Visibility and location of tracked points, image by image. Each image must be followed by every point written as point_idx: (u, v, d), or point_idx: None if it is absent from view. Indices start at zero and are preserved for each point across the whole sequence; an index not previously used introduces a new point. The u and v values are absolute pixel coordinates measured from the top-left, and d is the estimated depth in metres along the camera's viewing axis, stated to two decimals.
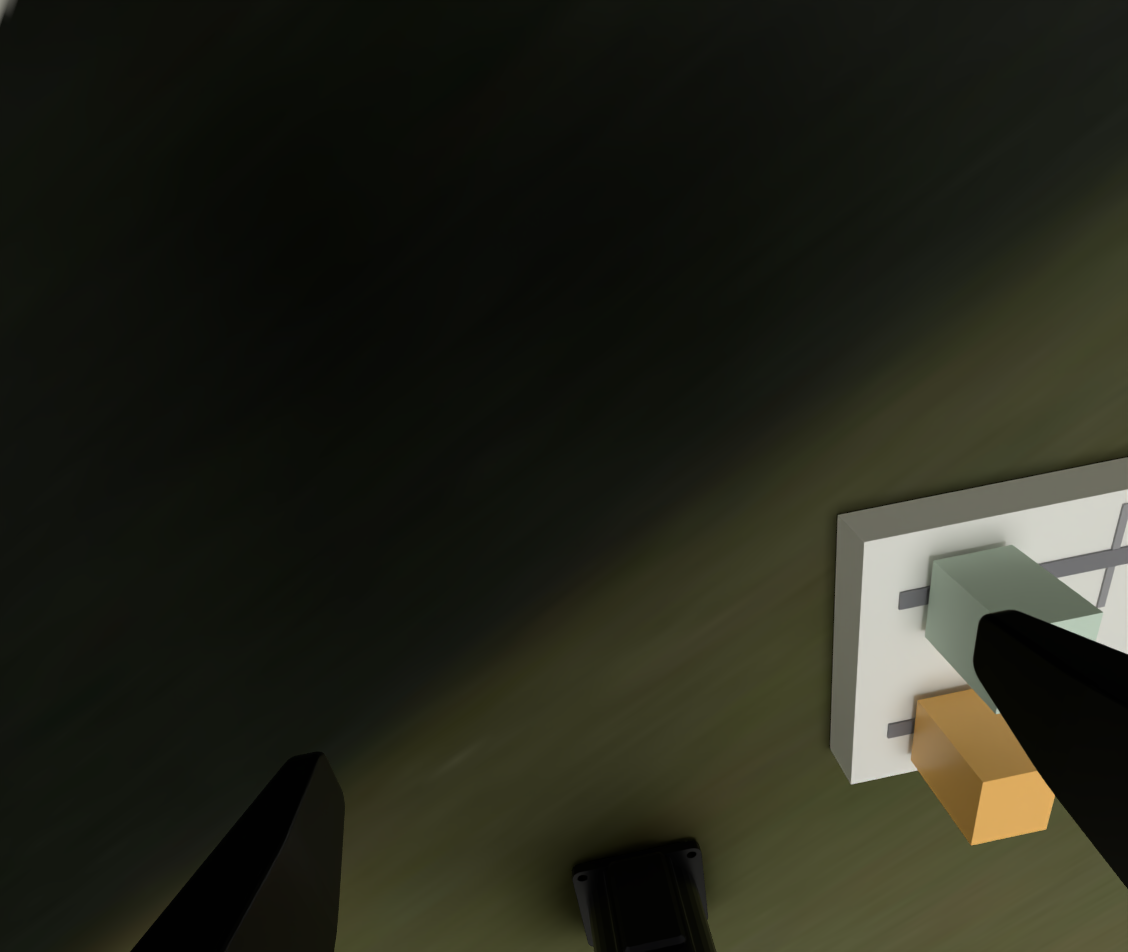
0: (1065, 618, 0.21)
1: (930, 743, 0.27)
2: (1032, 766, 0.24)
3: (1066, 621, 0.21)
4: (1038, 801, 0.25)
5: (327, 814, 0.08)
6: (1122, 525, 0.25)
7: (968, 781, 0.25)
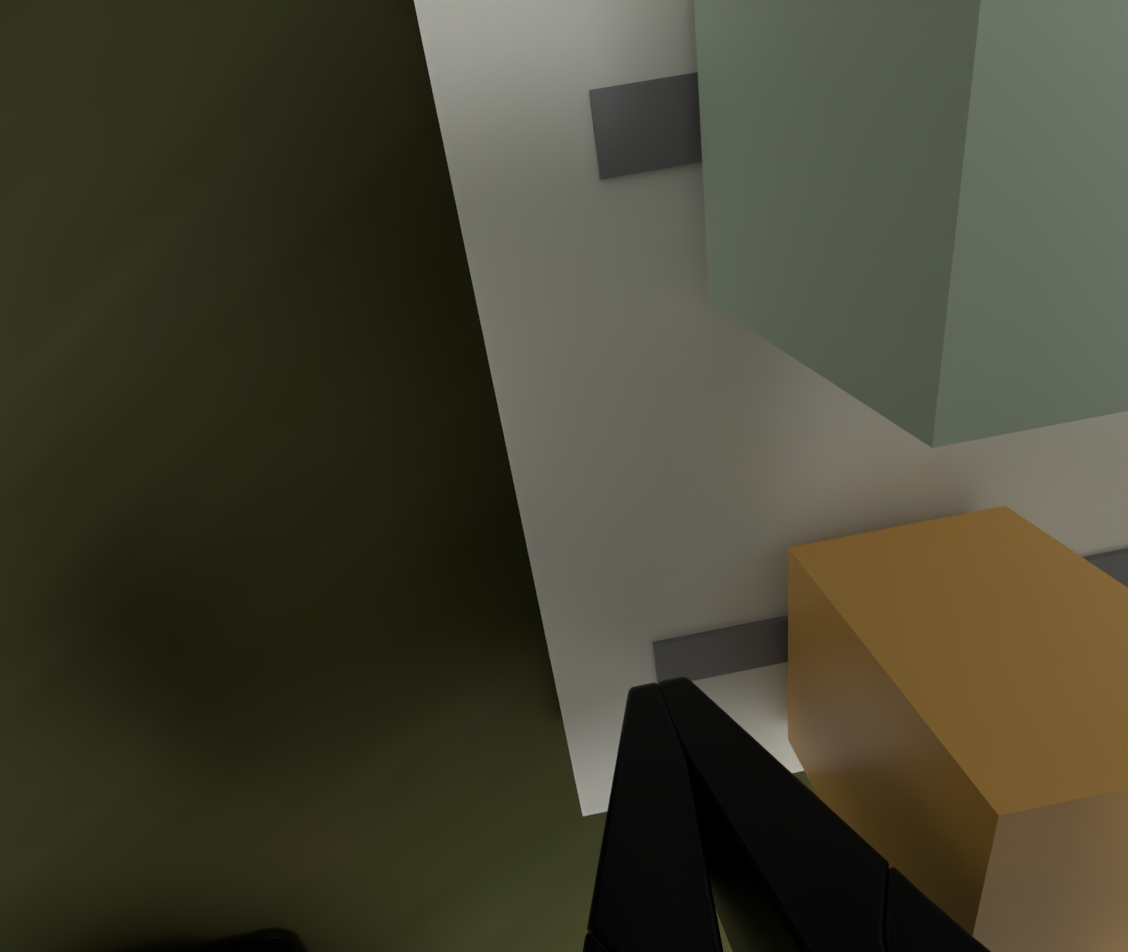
0: None
1: (824, 678, 0.08)
2: None
3: None
4: None
5: None
6: None
7: (936, 807, 0.06)
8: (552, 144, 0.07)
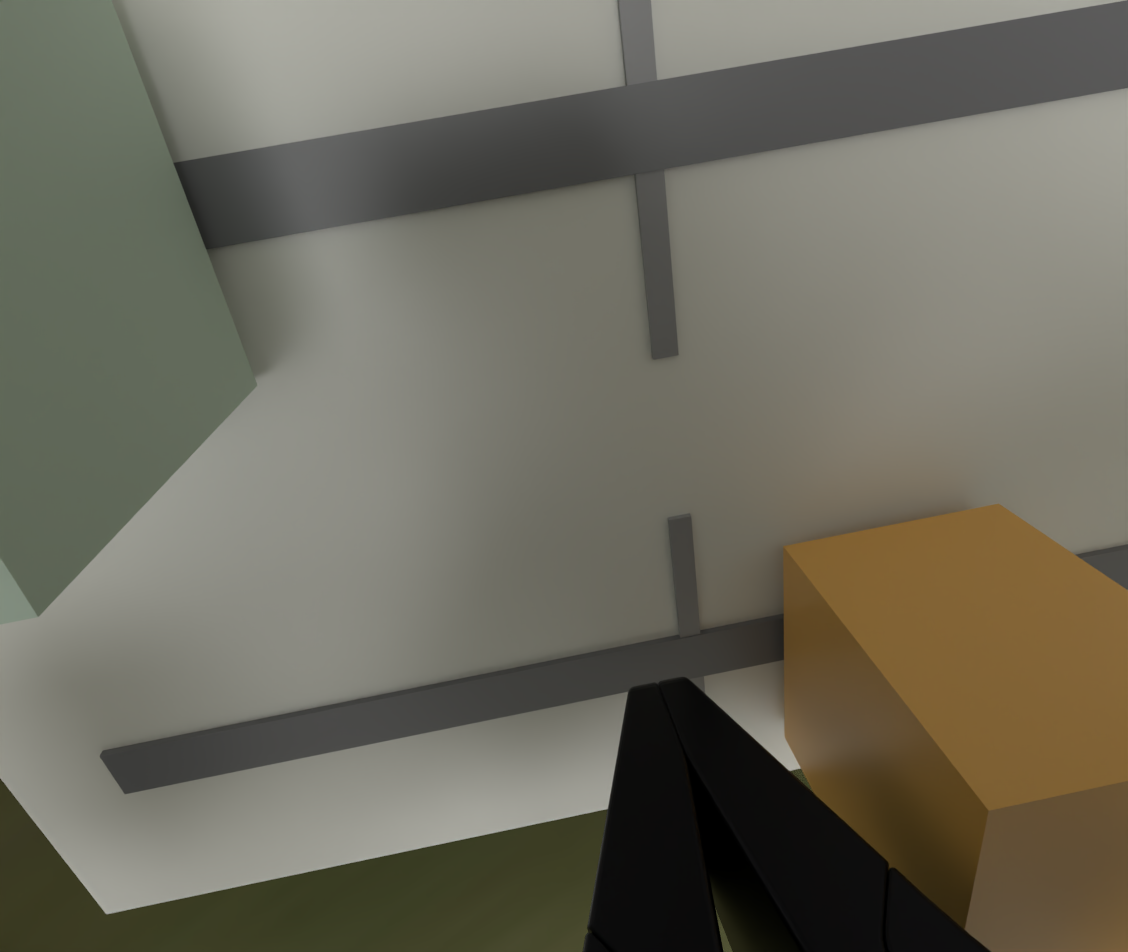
0: None
1: (818, 675, 0.08)
2: None
3: None
4: None
5: None
6: None
7: (928, 802, 0.06)
8: None
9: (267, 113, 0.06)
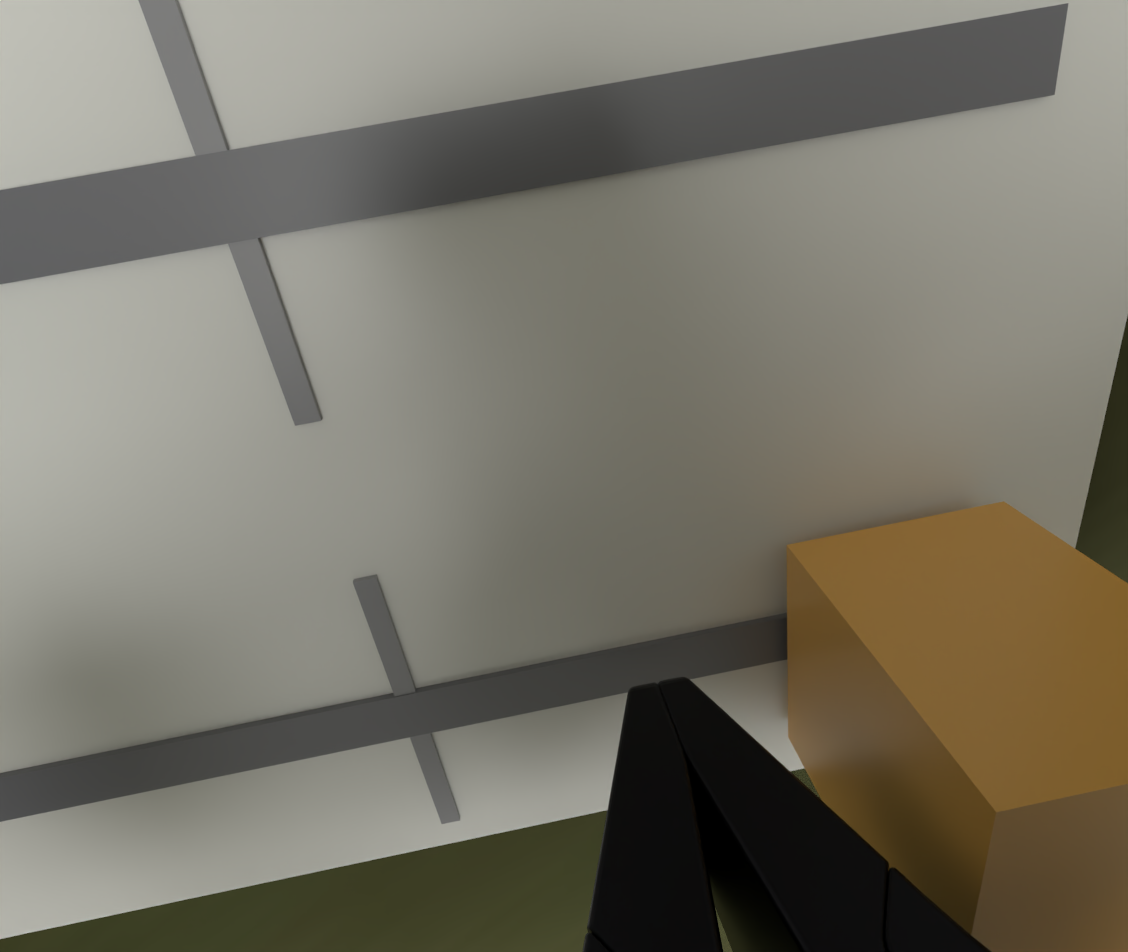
0: None
1: (823, 675, 0.08)
2: None
3: None
4: None
5: None
6: (184, 29, 0.06)
7: (934, 803, 0.06)
8: None
9: None
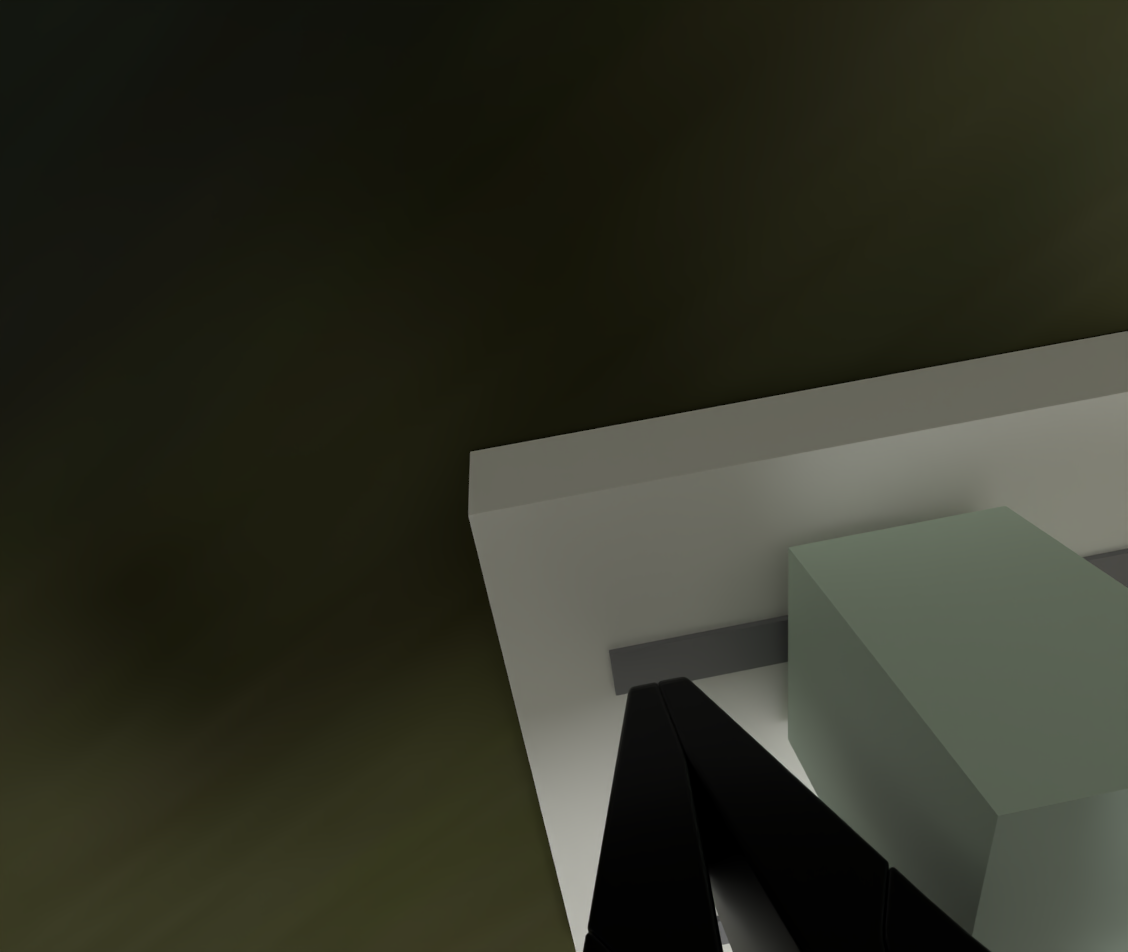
0: None
1: None
2: None
3: None
4: None
5: None
6: None
7: None
8: (583, 676, 0.10)
9: None
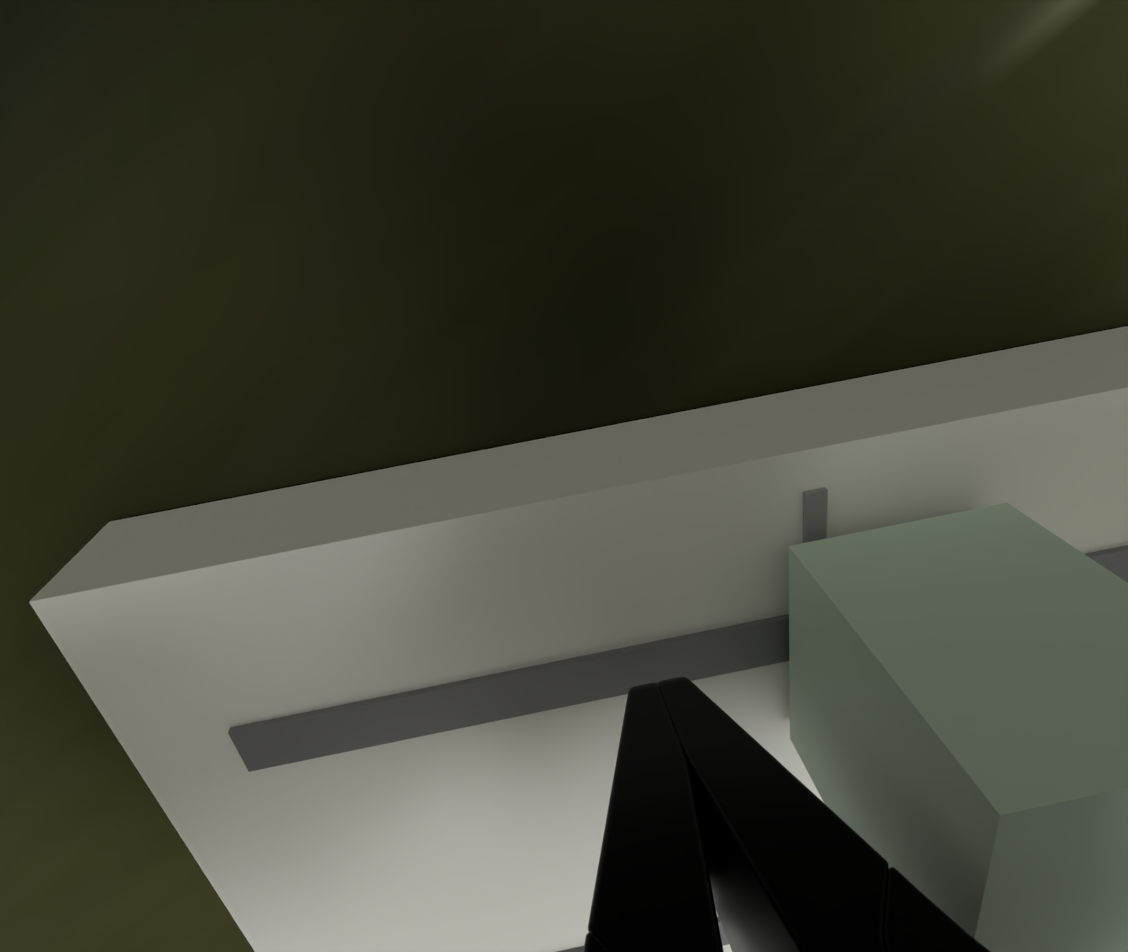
0: None
1: None
2: None
3: None
4: None
5: None
6: None
7: None
8: (211, 753, 0.10)
9: (566, 643, 0.09)
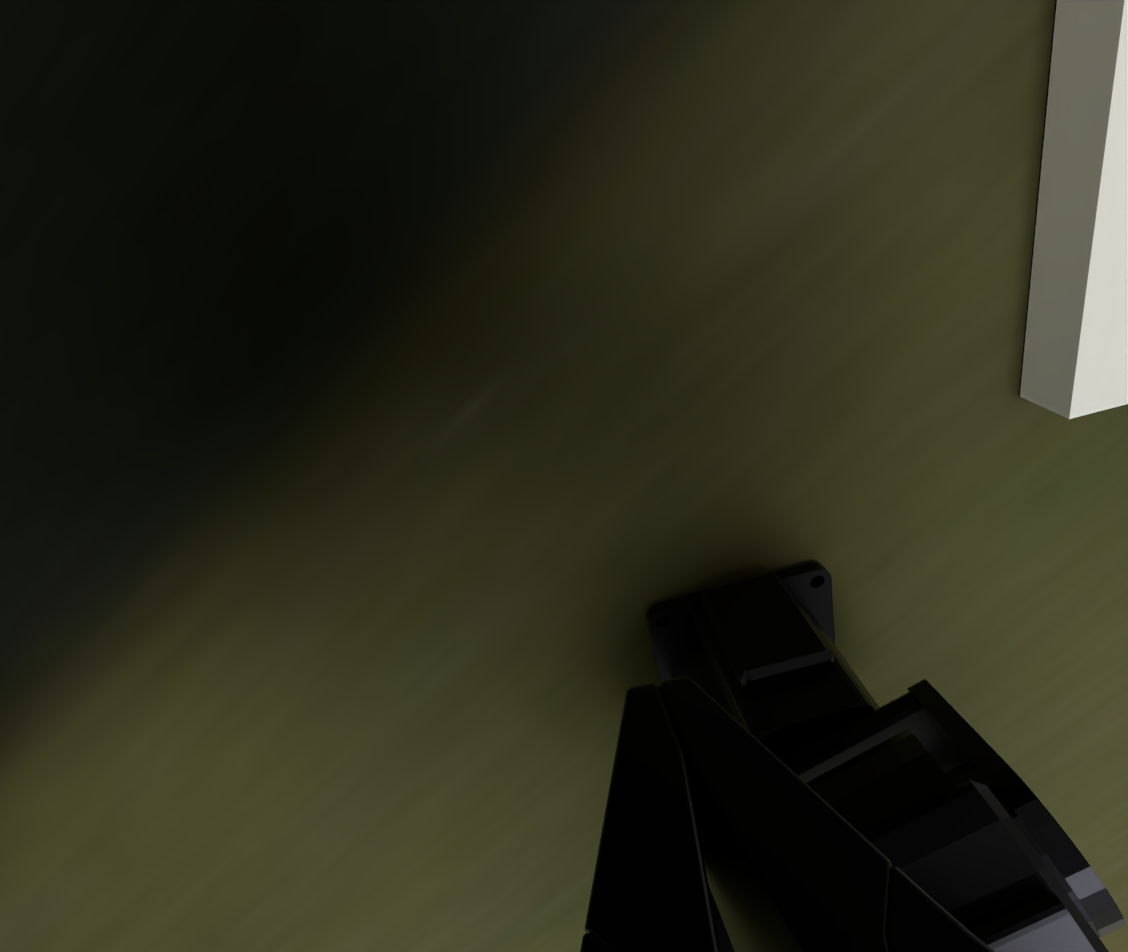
0: None
1: None
2: None
3: None
4: None
5: None
6: None
7: None
8: None
9: None
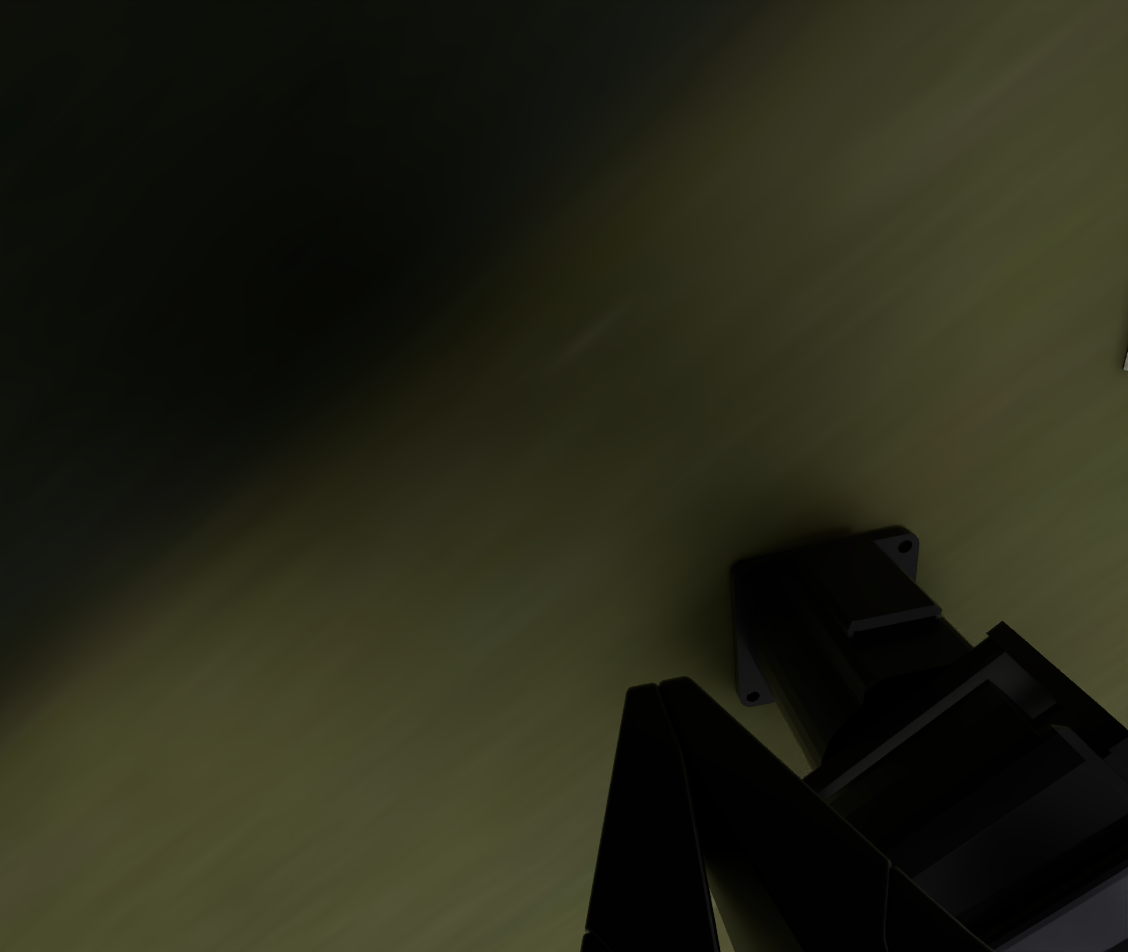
0: None
1: None
2: None
3: None
4: None
5: None
6: None
7: None
8: None
9: None
